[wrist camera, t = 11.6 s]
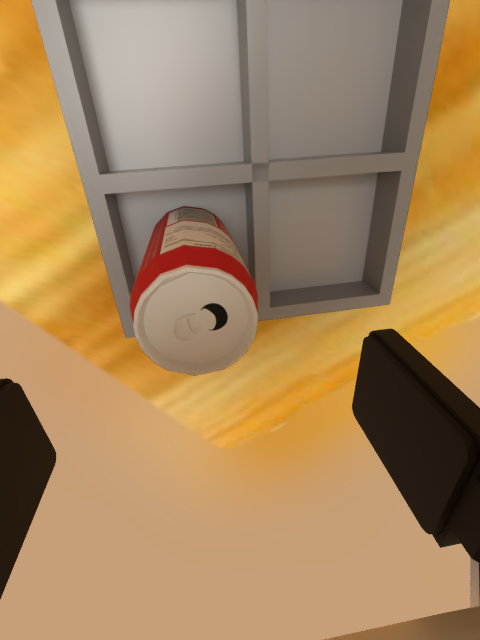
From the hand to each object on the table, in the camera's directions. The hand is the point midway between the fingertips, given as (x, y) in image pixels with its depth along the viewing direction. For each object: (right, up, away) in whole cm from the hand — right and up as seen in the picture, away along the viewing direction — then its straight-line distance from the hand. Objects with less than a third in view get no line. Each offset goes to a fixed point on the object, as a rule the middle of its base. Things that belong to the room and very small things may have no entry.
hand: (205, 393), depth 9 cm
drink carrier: (+2, +12, +13) cm, 18 cm away
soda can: (-3, +8, +14) cm, 16 cm away
